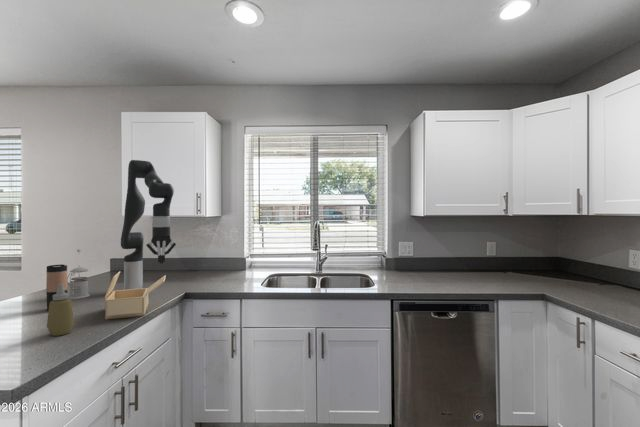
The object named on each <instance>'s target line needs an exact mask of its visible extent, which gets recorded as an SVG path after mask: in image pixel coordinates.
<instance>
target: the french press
mask: <svg viewBox="0 0 640 427" xmlns="http://www.w3.org/2000/svg"><path fill="white" fill-rule="evenodd" d="M76 252H77V253H81V252H82V250H81V249H80V248H79V249H76ZM69 272H70V273H69V274H67V286H69V295H68V298H67V299H71V300H72V299H73V300H75V299H76V300H77V299H85V298H87V297H90V296H91V294H90V293H89V280H88V276H76V277H72V276H75V275H76V274H80V273H85V272H89V269H87V268H86V267H80V266H78V267H74V268H73V269H71V270H70V271H69ZM71 277H72V278H71ZM68 279H69V280H68Z"/></svg>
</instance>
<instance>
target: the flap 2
mask: <svg viewBox="0 0 640 427" xmlns="http://www.w3.org/2000/svg"><path fill="white" fill-rule="evenodd" d="M166 275H167V274H165V275H163V276H162V277H161V278H159V279H158V280H156V281H155V282H154V283H152V284H151V285H150V286H148V287H147V288H148V290H147V293H146V295H148V296H149V294H150V293H152V292H153V291H154V290H156V289H158V287H160V286H162V284H164V283H165V282H166V281H165V280H166V277H167V276H166Z"/></svg>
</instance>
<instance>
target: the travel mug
mask: <svg viewBox="0 0 640 427" xmlns="http://www.w3.org/2000/svg"><path fill="white" fill-rule="evenodd" d="M67 277H68V265H67V264H66V265H65V264H52V265H47V266H46V311H47V312H49V303H50V302H51V301H53V295H55V294H56V293H57V289H58V285H59V284H63V288H64V291H65V293H68V283H67Z"/></svg>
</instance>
